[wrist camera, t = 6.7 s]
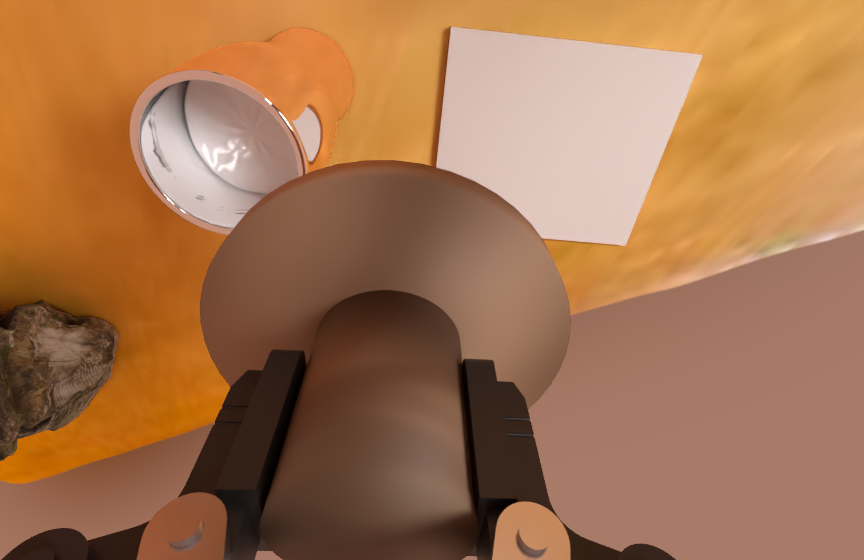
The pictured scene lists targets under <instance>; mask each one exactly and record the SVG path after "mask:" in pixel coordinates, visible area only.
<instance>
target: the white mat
mask: <svg viewBox="0 0 864 560" xmlns="http://www.w3.org/2000/svg"><path fill="white" fill-rule="evenodd" d="M702 56H703V55H701V54H695V53H686V52H677V51H668V50H659V49H650V48H641V47H632V46H623V45H614V44H605V43H596V42H587V41H578V40H569V39H560V38H551V37H542V36H533V35H525V34H516V33H507V32H498V31H489V30H480V29H471V28H462V27H453V26H451V30H450V39H449V48H448V58H447V67H446V77H445V86H444V95H443V105H442V114H441V124H440V133H439V143H438V152H437V161H436V168H440V169H444V170H448V171H451V172H453V173H456V174H458V175H461V176H463V177H466V178H468V179H471V180H473V181H475V182H477V183H479V184H481V185H482V186H484V187H486V188H488V189H489V190H491V191H493V192H495V193H497V194H498V195H499V196H501V197H502V198H503V199H504V200H506V201H507V202H508V203H510V204H511V205H512V206H514V207H515V208H516V209H517V210H518V211H519V212H520V213H521V214H522V215H523V216H524V217H525V218H526V219H527V220H528V221H529V222H530V223H531V224H532V225H533V227H534V228H535V230H536V231H537V232H538V234H539V235H540V237H541V238H544V239H556V240H567V241H579V242H591V243H603V244H615V245H626V243H627V241H628V238H629V236H630V233H631V231H632V229H633V226H634V224H635V221H636V219H637V216H638V214H639V211H640V209H641V206H642V204H643V201H644V199H645V197H646V194H647V192H648V189H649V187H650V184H651V182H652V179H653V177H654V174H655V172H656V169H657V167H658V165H659V162H660V160H661V157H662V155H663V152H664V150H665V147H666V145H667V142H668V140H669V137H670V135H671V133H672V130H673V128H674V125H675V123H676V120H677V118H678V115H679V113H680V110H681V108H682V105H683V103H684V100H685V98H686V96H687V93H688V91H689V88H690V86H691V83H692V81H693V78H694V76H695V73H696V71H697V68H698V66H699V64H700V61H701V59H702Z"/></svg>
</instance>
